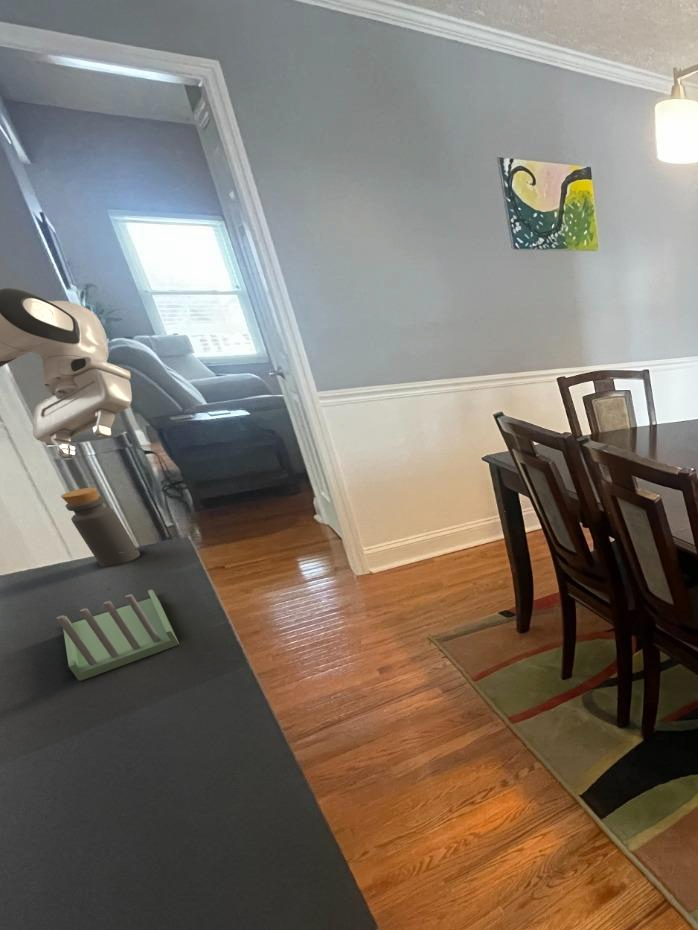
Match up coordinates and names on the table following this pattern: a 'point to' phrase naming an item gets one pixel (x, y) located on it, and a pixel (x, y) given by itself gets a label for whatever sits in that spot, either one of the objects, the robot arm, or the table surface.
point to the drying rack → (116, 636)
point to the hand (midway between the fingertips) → (84, 445)
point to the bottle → (100, 527)
